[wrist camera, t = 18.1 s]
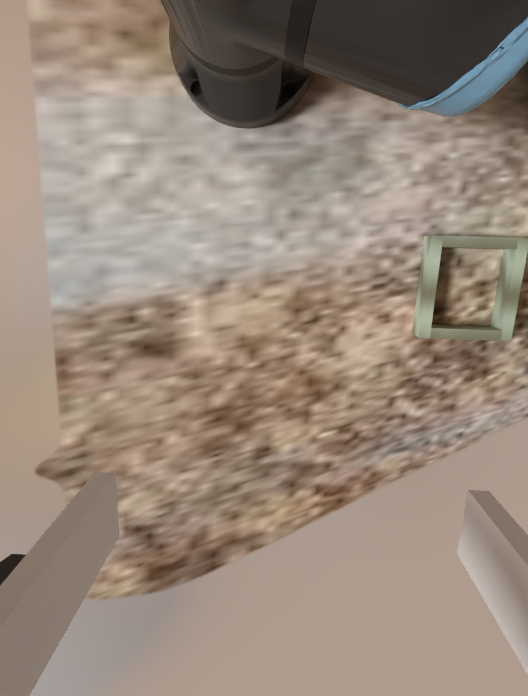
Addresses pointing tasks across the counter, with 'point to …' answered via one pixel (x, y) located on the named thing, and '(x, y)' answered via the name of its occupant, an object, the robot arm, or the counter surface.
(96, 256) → the counter surface
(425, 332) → the frame
